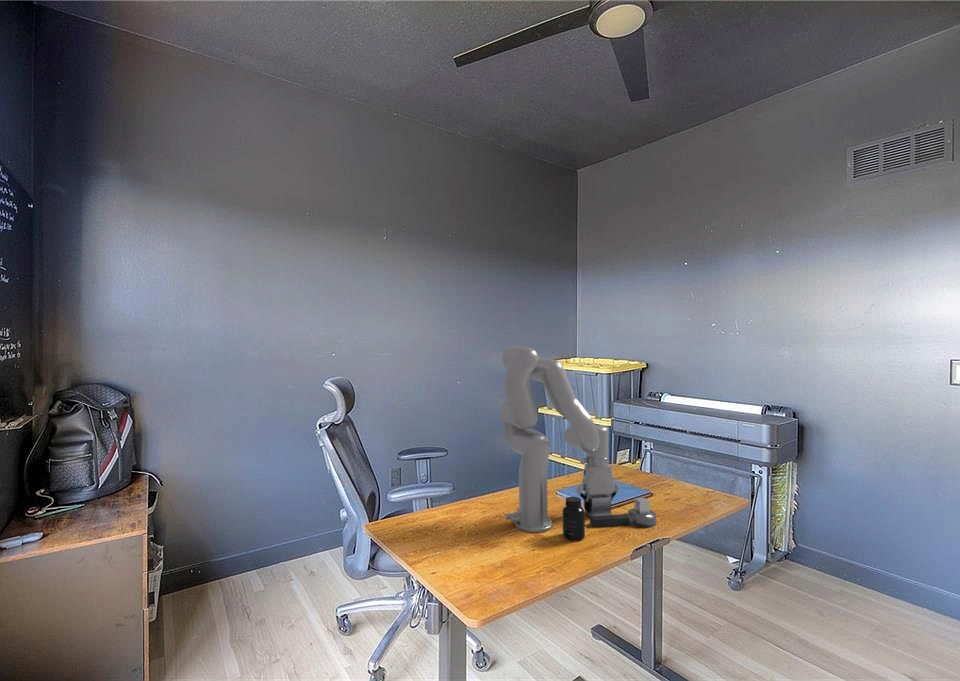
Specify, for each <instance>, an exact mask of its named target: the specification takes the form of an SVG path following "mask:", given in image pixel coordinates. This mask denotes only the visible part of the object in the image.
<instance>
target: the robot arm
mask: <svg viewBox="0 0 960 681" xmlns="http://www.w3.org/2000/svg"><path fill="white" fill-rule="evenodd" d="M501 361H502V365H503V366H504V367H505V368H506V371H505V373H504V378H503V383H502V384H503V392H504V395H505V400H504V401H503V402H502V404H501V406H500V413H499V415H500V421H501V424H502V427H503V430H504V434H505V436H506V439H507V442H508V445H509V446H510V448H511V449H512V450H513V451H514V452H516V453H517V454H519V455H521V458H520V463H519V467H518V508H517V509H516V511H515V512H514V513H513V512H512V513H509V512H508V513H505V514H504V518H505V520H506V521H507V520H510V522H513V523H514V526H515V527H516V528H517V529H519V530H521V531H524V532H529V533H541V532H546V531H548V530H550V529H552V527H553V520H552V519H551V518H549V517H548V516H549V515H548V514H549V513H548V511H549V510H548V507H549V506H548V503H549V502H548V496H549V495H548V492H549V491H548V468H549V467H548V465H549V459H550V453H551V452H550V451H551V446H550V441H549V438H547V437H546V435H545V434H543V433H542V432H540V431H538V430H535V429H533V428H534V427H535V426H536V424H537V422H538V418H539V416H538V412H537V411H538V410H537V407H536V405H535V402H534V399H533V396H532V392H531V387H530V380H532V381H535V382H541V383H542V385H543V387H544V390H545V391H546V394H547V396H548V399H549V402H550V403H551V406H552V408H553V409H554V410H555V411H556V412H557V413H558V414H559V415H560V416H562V417H563V418H564V419H565V420H566V421H567V422H568V423H569V424H570V426H569V427H567V428H566V429H565V430H564V431H563V437H562V438H563V440H564V442H565V443H566V444H567V445H568V446H570V447H571V448H574V449H576V450H580V451H582V452H584V453H586V456H585V458H582V461H583V463H585V464H584V468H583V475H582V483H581V484H580V485H579V486H578V487H576V489H575V492H576V493H577V494H578V496H580V497H581V499H583V509H584V511H585V510H586V511H587V512H588V513H590V502H589V499H590V496H591V495H605V494H607V495H609V496H610V497H611V501H613V499H614V498H615V497H616V495H617V493H618V492H619V490H620V487H619V486H618V485H617V484H615V483H614V475H613V469H612V465H611V464H610V463H609V429H608V428H607V426H604V425H600V424H599V425H598V424H595V423H594V420H593V419H592V417H591V416H590V414H589V412H588V411H587V410H586V409H585V408H584V406H583V405H582V403H581V402H580V401H579V400H578V399H577V397H576V395H575V392H574V390H573V388H572V386H571V382H570V381H569V378H568V375H567V373H566V370H565V368H564V367H563V364H562V363H561V362H560V361H559V360H557V359H554V358H543V357H540V356H539V355H538V353H537V351H536V350H535V349H534V348H532V347H528V346H510V347H507V348H506V349H504V351H503V352H502V355H501ZM583 492H584V493H583Z"/></svg>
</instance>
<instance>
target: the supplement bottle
mask: <svg viewBox="0 0 960 681" xmlns="http://www.w3.org/2000/svg"><path fill="white" fill-rule="evenodd" d="M564 504H565V506H564V507H562V535H563V536H562V537H564V539H566V540H568V541H570V542H571V541H572V542H580V541H582V540H584V539H585V537H586V527H585V526H586V525H585V524H586V520H585V516H586V515H585V513H586V512H585V509H584V507H582V498H580V497H578V496H567V497H566V498H565V503H564Z"/></svg>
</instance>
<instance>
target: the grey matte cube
mask: <svg viewBox="0 0 960 681" xmlns="http://www.w3.org/2000/svg"><path fill="white" fill-rule="evenodd" d="M589 502H590V513H588V512H587V511H586V510H585V509H584V513H586V514H588V516H589V518H590V517H592V516H606V515H612V500H611V497H610V496H609V495H607V494H605V495H591V496H590V499H589Z"/></svg>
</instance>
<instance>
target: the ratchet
mask: <svg viewBox="0 0 960 681" xmlns="http://www.w3.org/2000/svg"><path fill="white" fill-rule="evenodd" d="M633 502H634V507H633V508H631V509H629V510H628V511H627V512H626V513H625V512H624V513H623V514H611V515H606V516H592V517H590V516H589V524H590V526H591V527H593V528H606V527H619V526H621V527H622V526H635V527H640V528H653V527H655V526H657V513H656V512H655V511H653V510H650V509H651V508H650V506H651V505H650V503H651V502H650V500H649V499H647V498H645V497H634V501H633Z"/></svg>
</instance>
